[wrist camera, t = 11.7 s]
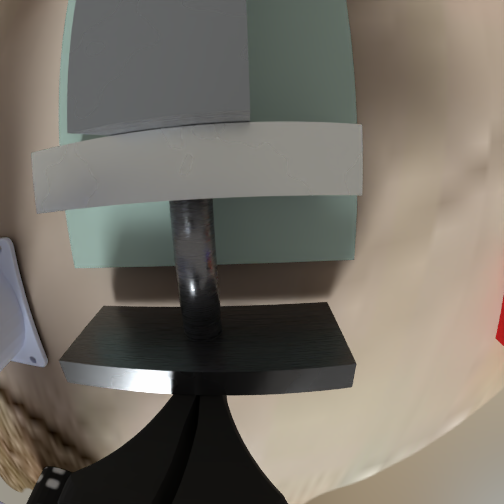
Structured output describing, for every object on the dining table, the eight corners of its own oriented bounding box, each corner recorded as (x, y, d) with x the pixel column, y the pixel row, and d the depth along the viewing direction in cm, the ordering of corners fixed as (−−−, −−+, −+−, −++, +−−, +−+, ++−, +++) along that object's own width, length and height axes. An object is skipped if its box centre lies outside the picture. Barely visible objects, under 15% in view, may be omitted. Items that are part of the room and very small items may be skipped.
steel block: (143, 138, 11) (67, 133, 6) (148, -30, 8) (103, -101, 3) (249, 130, 11) (250, 109, 6) (243, -42, 8) (241, -126, 3)
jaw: (108, 324, 14) (67, 382, 9) (81, 149, 11) (14, 154, 7) (325, 322, 14) (351, 386, 9) (330, 131, 11) (374, 121, 7)
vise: (84, 260, 13) (39, 295, 10) (93, -63, 8) (63, -97, 4) (347, 252, 13) (381, 289, 10) (321, -87, 8) (337, -131, 4)
